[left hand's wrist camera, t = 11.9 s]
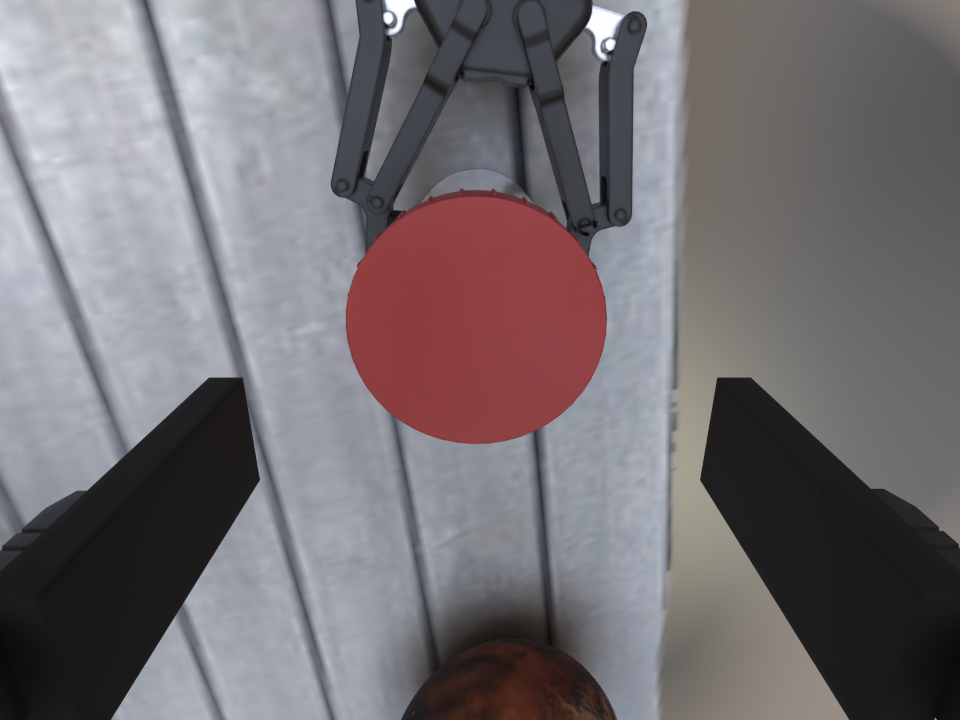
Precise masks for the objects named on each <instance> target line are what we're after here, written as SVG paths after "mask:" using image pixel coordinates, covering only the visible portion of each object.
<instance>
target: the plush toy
mask: <svg viewBox="0 0 960 720" xmlns="http://www.w3.org/2000/svg"><path fill="white" fill-rule="evenodd" d="M401 720H617V717H616V715H615V712H614V710H613V708H612V706H611V704H610V702H609V700H608V698H607V696H606V695H605V693H604V691H603V690H602V688H601V687H600V686H599V684H598V683H597V681H596V680H595V679H594V678H593V677H592V675H591V674H590V673H589V672H588V671H587V670H586V669H585V668H584V667H583V666H582V665H581V664H580V663H578V662H577V661H576V660H575V659H574V658H572V657H571V656H569V655H568V654H566V653H565V652H563V651H561V650H559V649H557V648H555V647H553V646H551V645H548V644H545V643H542V642H538V641H535V640H529V639H520V638H507V639H498V640H493V641H488V642H485V643H481V644H478V645H476V646H473V647H471V648H469V649H467V650H465V651H463V652H461V653H460V654H458V655H456V656H455V657H453V658H452V659H450V660H449V661H447V662H446V663H445V664H444V665H442V666H441V667H440V668H439V669H438V670H437V671H435V672H434V673H433V674H432V676H431V677H430V678H429V679H428V680H427V681H426V682H425V683H424V684H423V686H422V687H421V688H420V689H419V691H418V692H417V693H416V695H415V696H414V698H413V699H412V701H411V703H410V704H409V706H408V707H407V709H406V711H405V713H404V715H403V717H402V719H401Z"/></svg>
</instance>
